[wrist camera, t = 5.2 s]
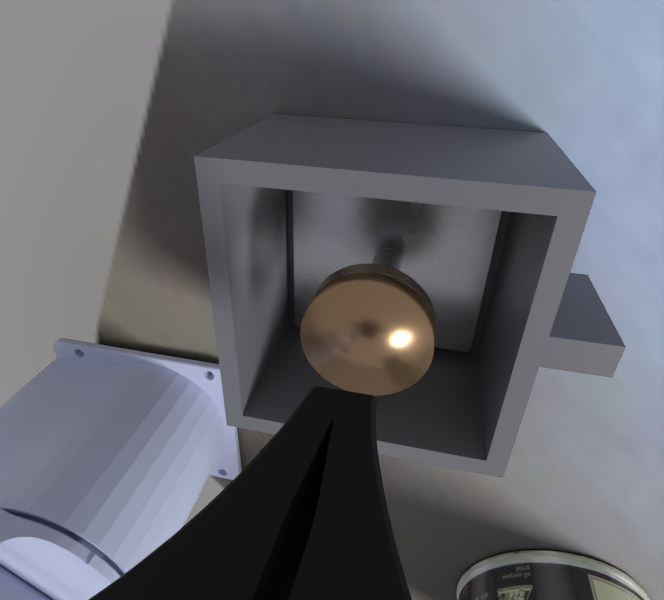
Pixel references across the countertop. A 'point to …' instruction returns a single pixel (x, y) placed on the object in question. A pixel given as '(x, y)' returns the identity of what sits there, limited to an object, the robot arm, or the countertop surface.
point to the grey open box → (412, 186)
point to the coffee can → (546, 578)
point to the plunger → (386, 285)
